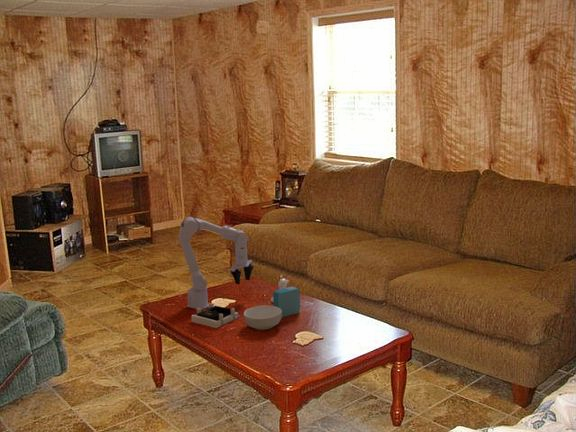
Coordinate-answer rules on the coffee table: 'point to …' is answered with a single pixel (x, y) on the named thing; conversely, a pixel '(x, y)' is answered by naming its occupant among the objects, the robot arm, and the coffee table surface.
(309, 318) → the coffee table surface
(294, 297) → the teal box
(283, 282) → the white creature statuette
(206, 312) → the battery charger
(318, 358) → the coffee table surface
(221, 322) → the dock
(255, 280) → the coffee table surface
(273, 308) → the cereal bowl
